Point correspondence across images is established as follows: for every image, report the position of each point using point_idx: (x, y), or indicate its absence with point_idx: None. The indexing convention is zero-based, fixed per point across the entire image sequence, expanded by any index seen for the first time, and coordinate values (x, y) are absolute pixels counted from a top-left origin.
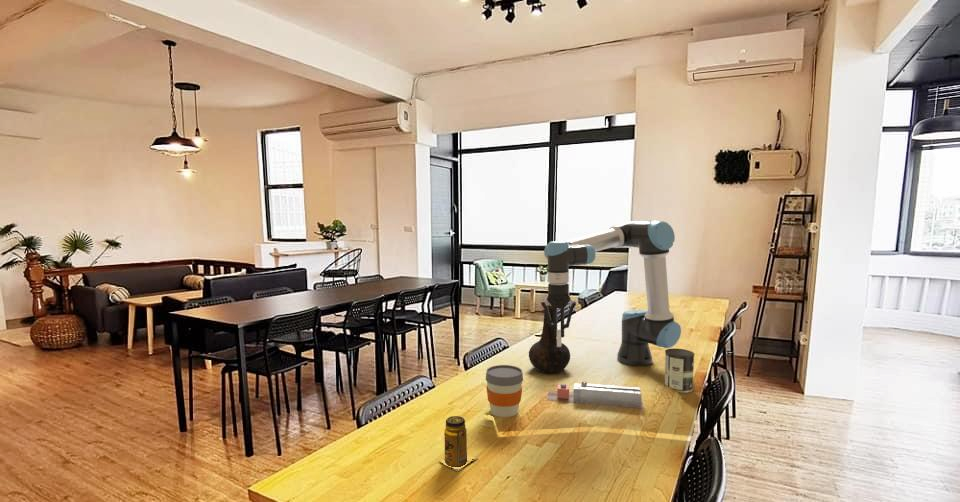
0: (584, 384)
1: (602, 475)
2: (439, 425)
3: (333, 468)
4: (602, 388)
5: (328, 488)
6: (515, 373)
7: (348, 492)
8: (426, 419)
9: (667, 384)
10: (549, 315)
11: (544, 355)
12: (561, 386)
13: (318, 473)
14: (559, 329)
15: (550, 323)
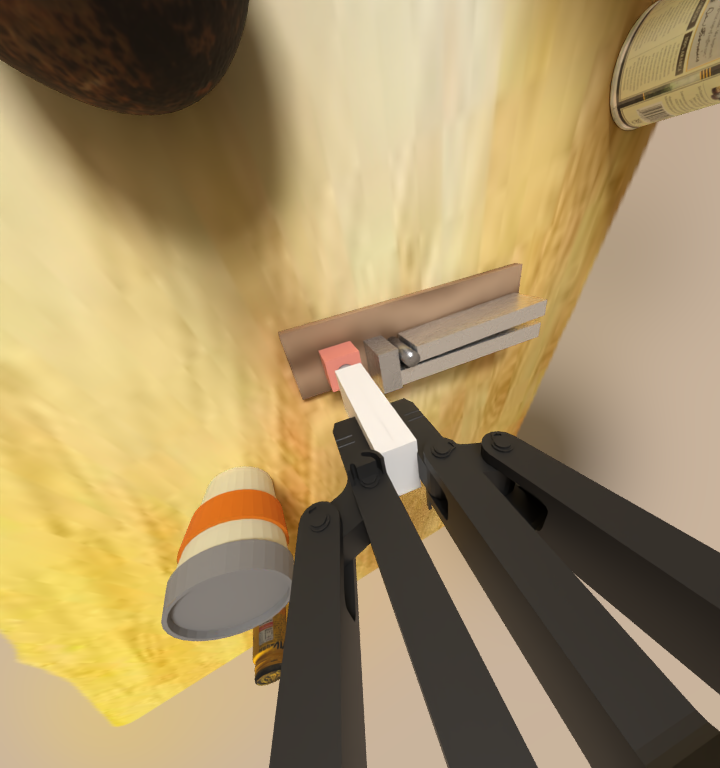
0: (413, 365)
1: (433, 514)
2: (156, 583)
3: (140, 687)
4: (456, 351)
5: (180, 687)
6: (268, 581)
7: (206, 674)
8: (105, 591)
9: (627, 96)
10: (360, 736)
11: (98, 71)
12: None
13: (135, 697)
14: (409, 487)
15: (346, 584)
